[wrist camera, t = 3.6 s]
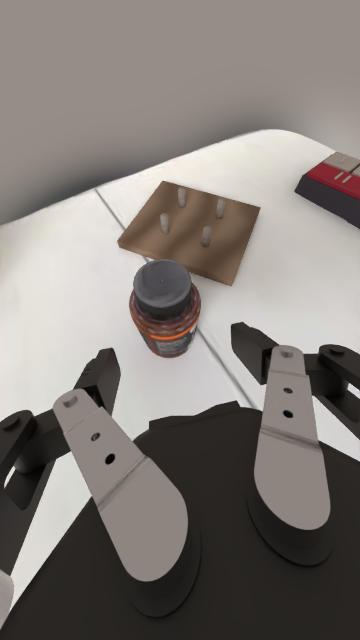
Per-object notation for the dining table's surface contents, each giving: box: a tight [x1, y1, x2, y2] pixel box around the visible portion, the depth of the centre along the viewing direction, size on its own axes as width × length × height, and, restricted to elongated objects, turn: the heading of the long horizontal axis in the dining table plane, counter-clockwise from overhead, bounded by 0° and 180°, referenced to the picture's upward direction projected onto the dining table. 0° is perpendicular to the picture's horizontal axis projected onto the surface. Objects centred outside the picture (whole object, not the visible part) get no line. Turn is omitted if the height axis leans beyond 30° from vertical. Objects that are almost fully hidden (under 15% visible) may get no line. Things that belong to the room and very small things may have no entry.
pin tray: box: [117, 181, 260, 286], centre depth 28 cm, size 18×16×4 cm
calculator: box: [295, 152, 360, 229], centre depth 32 cm, size 11×4×15 cm
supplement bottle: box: [129, 259, 201, 358], centre depth 17 cm, size 6×6×11 cm
